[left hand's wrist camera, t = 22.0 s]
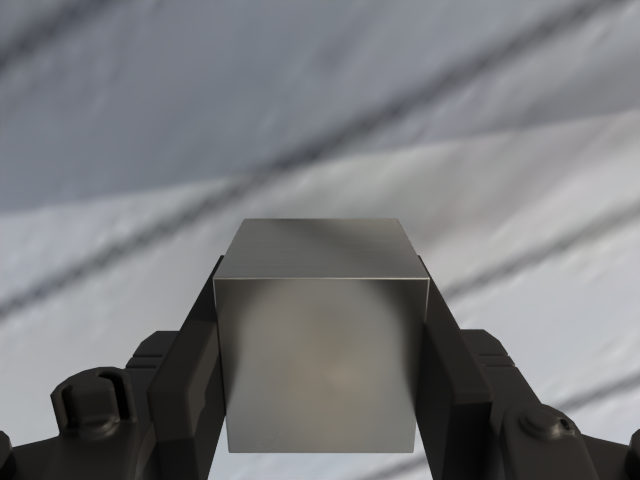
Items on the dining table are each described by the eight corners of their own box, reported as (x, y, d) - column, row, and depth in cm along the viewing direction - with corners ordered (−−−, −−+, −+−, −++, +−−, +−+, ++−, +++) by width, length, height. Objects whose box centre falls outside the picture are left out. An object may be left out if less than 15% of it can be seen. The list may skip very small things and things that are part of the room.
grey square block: (252, 355, 16) (228, 454, 12) (243, 218, 14) (212, 277, 10) (389, 355, 16) (414, 454, 12) (398, 218, 14) (430, 277, 10)
